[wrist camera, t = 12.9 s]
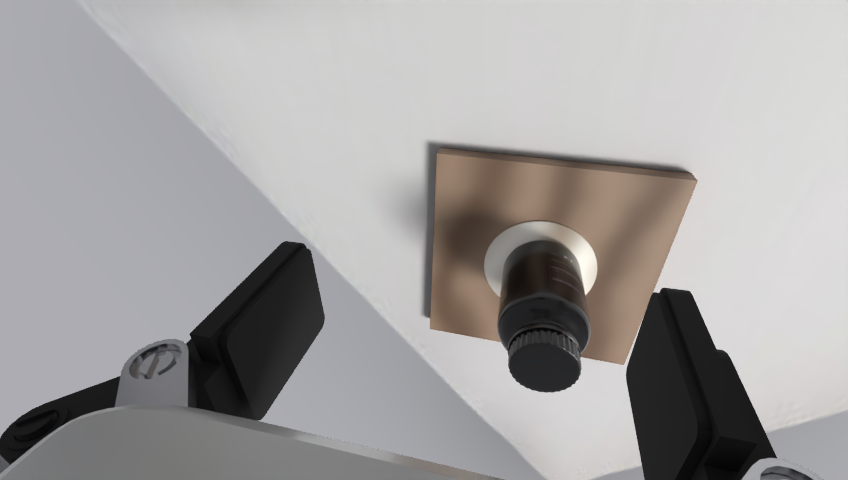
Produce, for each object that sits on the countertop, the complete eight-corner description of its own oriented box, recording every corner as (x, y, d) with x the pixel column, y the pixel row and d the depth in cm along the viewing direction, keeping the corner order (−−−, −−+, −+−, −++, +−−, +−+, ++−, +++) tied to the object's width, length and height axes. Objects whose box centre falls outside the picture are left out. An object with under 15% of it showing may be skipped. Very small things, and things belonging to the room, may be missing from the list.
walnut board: (691, 173, 32) (698, 181, 31) (621, 353, 43) (624, 366, 41) (440, 147, 36) (436, 154, 35) (432, 319, 47) (429, 330, 45)
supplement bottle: (541, 310, 40) (542, 416, 30) (488, 268, 39) (471, 364, 29) (598, 269, 37) (620, 375, 27) (541, 222, 36) (542, 314, 26)
